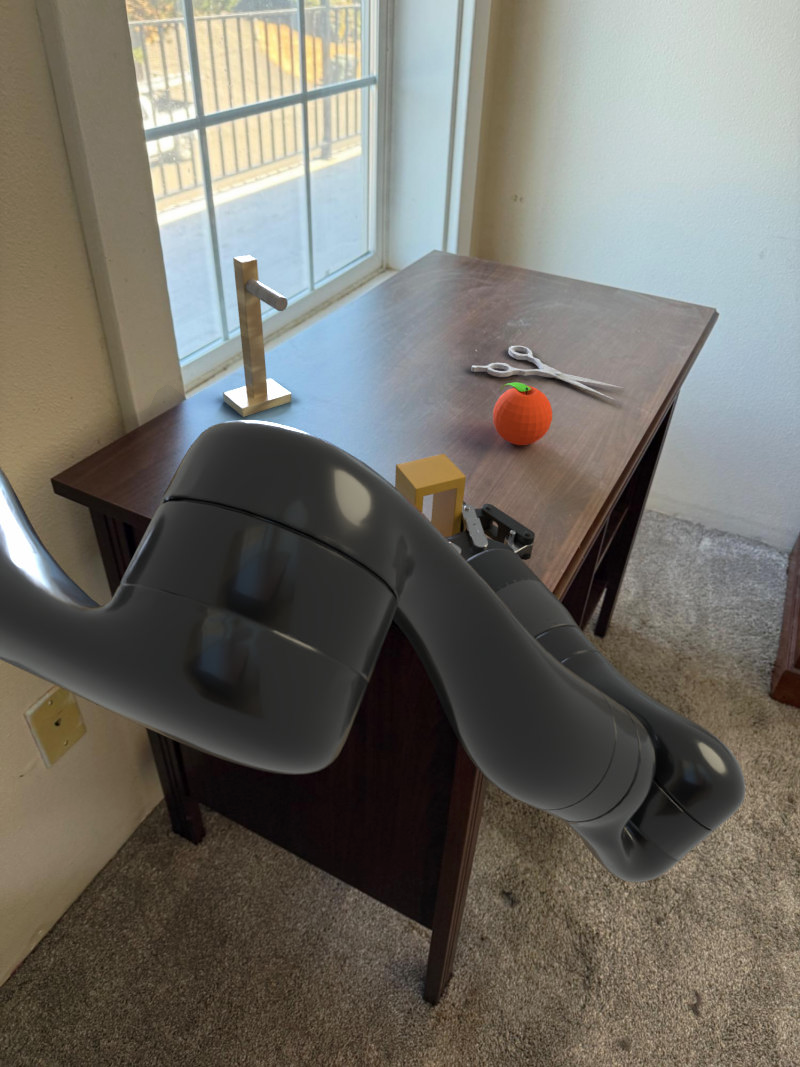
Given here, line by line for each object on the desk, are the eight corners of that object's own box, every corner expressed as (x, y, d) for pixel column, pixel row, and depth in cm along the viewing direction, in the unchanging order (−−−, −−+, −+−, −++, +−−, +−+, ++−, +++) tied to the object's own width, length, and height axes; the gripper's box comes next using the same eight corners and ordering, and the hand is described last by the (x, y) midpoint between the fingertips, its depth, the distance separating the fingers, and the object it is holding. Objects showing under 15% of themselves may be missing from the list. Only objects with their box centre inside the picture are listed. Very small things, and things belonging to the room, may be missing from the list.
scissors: (505, 340, 110) (635, 377, 102) (504, 345, 111) (634, 382, 103) (471, 366, 103) (608, 407, 95) (470, 371, 104) (607, 413, 96)
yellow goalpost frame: (409, 586, 69) (416, 488, 62) (391, 560, 72) (395, 464, 65) (455, 573, 70) (466, 476, 64) (435, 548, 73) (444, 453, 66)
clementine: (472, 431, 91) (478, 378, 87) (516, 417, 94) (524, 365, 90) (515, 462, 86) (523, 407, 82) (559, 446, 89) (570, 393, 85)
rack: (264, 434, 89) (251, 285, 77) (223, 401, 95) (206, 257, 83) (313, 417, 92) (307, 272, 81) (271, 386, 98) (260, 247, 87)
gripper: (596, 560, 58) (484, 450, 69) (432, 611, 52) (341, 483, 64) (578, 628, 62) (475, 514, 74) (425, 681, 57) (342, 550, 69)
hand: (413, 500), depth 69 cm, fingers closed on yellow goalpost frame, 4 cm apart
